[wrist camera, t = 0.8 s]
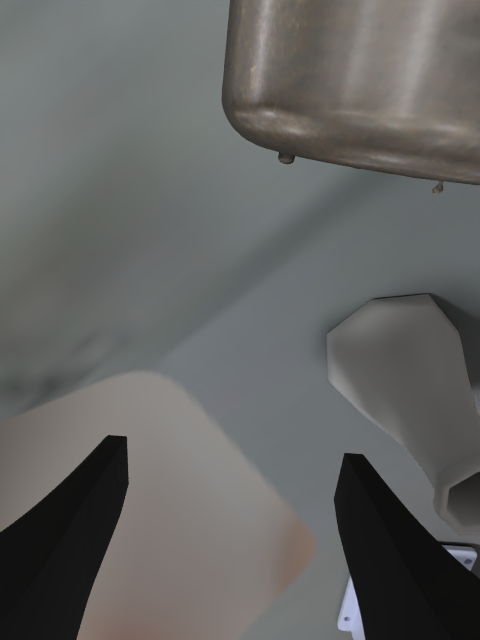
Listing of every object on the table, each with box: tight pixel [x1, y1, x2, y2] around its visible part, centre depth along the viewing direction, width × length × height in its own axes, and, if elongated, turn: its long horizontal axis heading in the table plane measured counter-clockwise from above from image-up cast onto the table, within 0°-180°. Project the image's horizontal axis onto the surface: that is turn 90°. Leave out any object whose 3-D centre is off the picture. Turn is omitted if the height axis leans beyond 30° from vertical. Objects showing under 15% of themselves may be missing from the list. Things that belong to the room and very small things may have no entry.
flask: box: [327, 294, 480, 535], centre depth 18 cm, size 7×7×10 cm
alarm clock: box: [222, 0, 480, 194], centre depth 10 cm, size 11×5×16 cm, turn 83°
